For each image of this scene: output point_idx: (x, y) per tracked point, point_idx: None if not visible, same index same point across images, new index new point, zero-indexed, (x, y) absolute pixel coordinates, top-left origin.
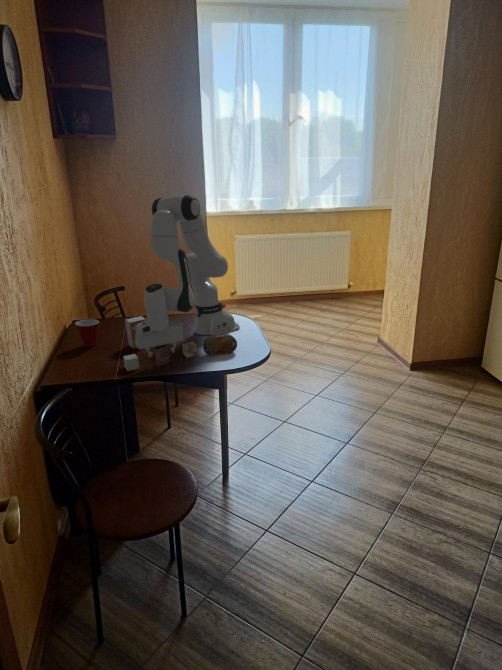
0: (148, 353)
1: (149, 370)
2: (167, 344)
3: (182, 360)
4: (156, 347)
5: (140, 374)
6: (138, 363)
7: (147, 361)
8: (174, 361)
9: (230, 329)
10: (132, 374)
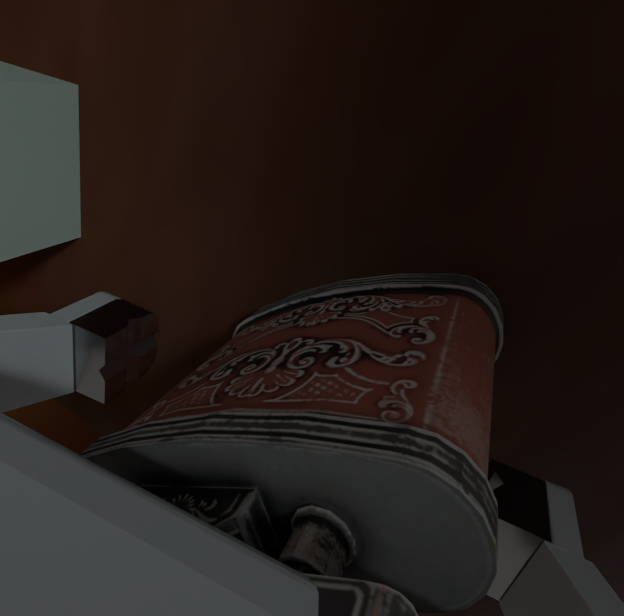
0: (69, 308)
1: None
2: (426, 585)
3: (598, 501)
4: (124, 471)
5: None
6: (21, 253)
7: (218, 106)
8: (492, 431)
9: None
10: (8, 307)
